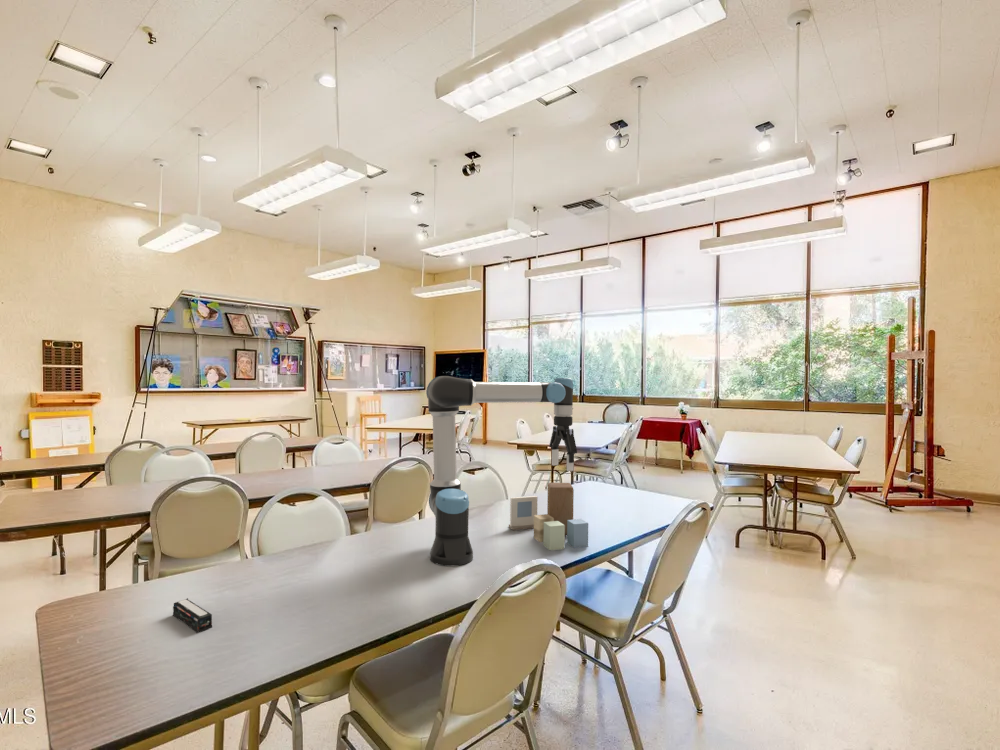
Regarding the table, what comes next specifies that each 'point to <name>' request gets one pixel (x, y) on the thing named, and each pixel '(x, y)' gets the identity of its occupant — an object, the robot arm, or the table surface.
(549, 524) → the sage block
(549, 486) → the wooden block
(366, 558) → the table surface
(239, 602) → the table surface
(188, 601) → the bus
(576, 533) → the slate blue block
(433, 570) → the table surface
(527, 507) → the placard
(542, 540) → the maple block
